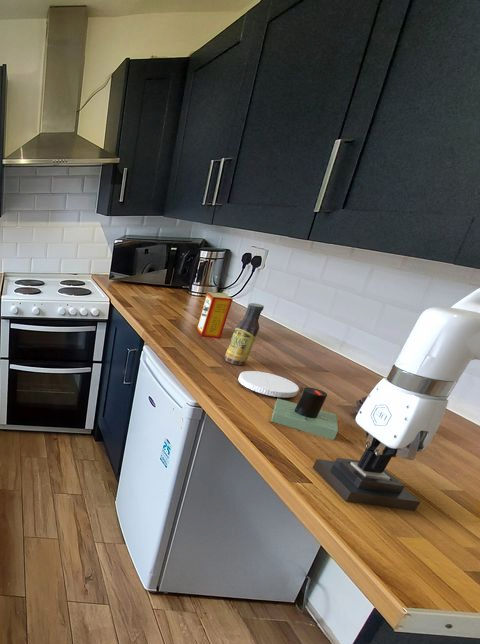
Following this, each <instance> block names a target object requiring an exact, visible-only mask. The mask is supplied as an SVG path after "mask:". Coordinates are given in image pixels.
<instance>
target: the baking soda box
mask: <svg viewBox="0 0 480 644" xmlns="http://www.w3.org/2000/svg"><path fill="white" fill-rule="evenodd" d="M205 293H206V294H205V297H204V300H203V304H202V307H201V311H200V315H199V317H198V322H197V325H196V328H195V329H196V331H197V332H198V334H199V335H200V336H201V337H204V338H213V339H221V337H222V334H223V332H224V328H225V324H226V322H227V319H228V315H229V313H230V310H231V306H232V302H233V300H234V299H233V298H232V297H231V296H229V294H227V293H225V292H215V291H206V292H205Z"/></svg>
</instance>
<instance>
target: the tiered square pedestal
mask: <svg viewBox="0 0 480 644" xmlns="http://www.w3.org/2000/svg"><path fill="white" fill-rule="evenodd" d="M359 461H360V459H359V460H358V459H350V458H344V457H343V458H342V457H336V459H335V460H327V459H321V458H316V460H315V462H314V464H313V465H312V469H313V470H314V471H315V472H316V473H317V475H319V476H320V477H321V478H322V479H323V480H324V481H325V482H326V483H327V484H328V485H329V486H330V487H331V488H332V489H333V490H334V491H335V492H336V494H338V496H339V497H341V499H342V500H343V501H344V502H346V503H353V504H359V505H360V504H361V505H366V506H375V507H381V508H389V509H396V510H403V511H409V512H415V511H416V510H417V508H418V507H419V506H420V504H421V501H420V500H419V499H418V497H416V496H415V495H413V494H412V493H411V492H410V491H408V490H407V489H406V485H405V484H403V483H402V482H401V481H399V480H398V479H397V478H396V477H394V475H392V474H391V473H390V472H389V471H388V470H386V468H385V469H384V471H383V472H384V473H385V474H386V475H387V476H389V477H390V480H381V479H374V478H366V477H364V476H363V475H361V474H360V473H359V472H358V471H357V470H356V469H355V468H354V467H352V466H351V465H350V463H351V462H357V463H359Z"/></svg>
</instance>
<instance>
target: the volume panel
mask: <svg viewBox="0 0 480 644" xmlns="http://www.w3.org/2000/svg"><path fill="white" fill-rule="evenodd" d="M296 406H297V403H296V402H292V401H289V400H285V399H281V398H277V399H276V400H275V403H274V405H273V410H272V414H271V419H270V422H272V423H275V424H279V425H281V426H284V427H289V428H292V429H295V430H298V431H301V432H305V433H309V434H312V435H315V436H318V437H322V438H325V439H329V440H332V441H334V440H335V438H336V437H337V435H338V433H339V425H338V416H337V414H336V413H333V412H329V411H326V410H323V409H321V410H320V412H319V414H318V416H317V417H316V418H309V417H305V416H302V415H300V414H298V413H296V412H295V408H296Z"/></svg>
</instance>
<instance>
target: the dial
mask: <svg viewBox="0 0 480 644" xmlns="http://www.w3.org/2000/svg"><path fill="white" fill-rule="evenodd" d="M327 397H328V393H327V392H325V391H324V390H321V389H319V388H316V387H307V386H306V387H304V388H303V390H302V392H301V395H300V396H299V399H298V401H297V403H296V404H297V406H296V408H295V412H296V413H298V414H300V415H302V416H305V417H309V418H316V417H317V416H318V414H319V412H320V410H322V407H323V405H324V403H325V401H326V398H327Z"/></svg>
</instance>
